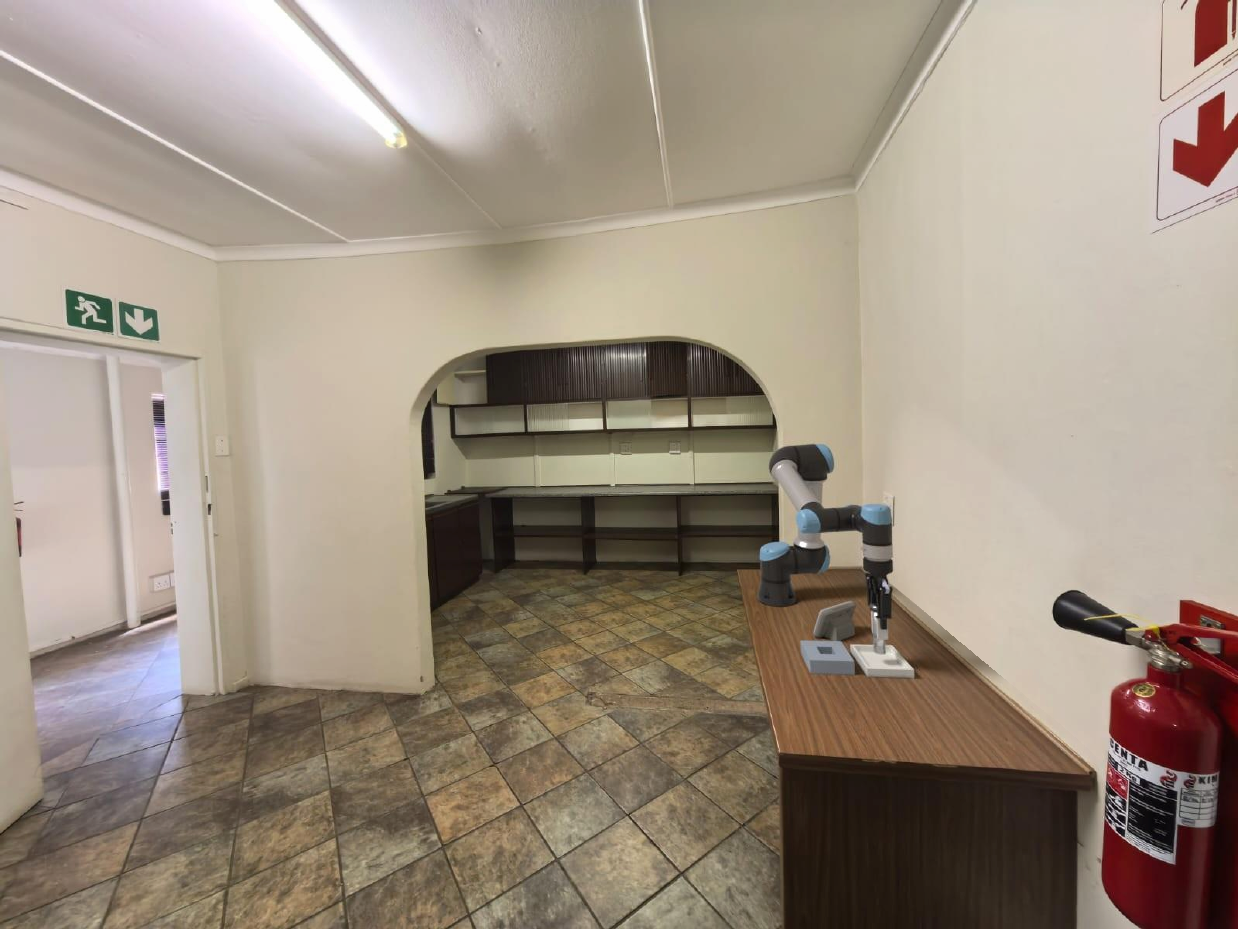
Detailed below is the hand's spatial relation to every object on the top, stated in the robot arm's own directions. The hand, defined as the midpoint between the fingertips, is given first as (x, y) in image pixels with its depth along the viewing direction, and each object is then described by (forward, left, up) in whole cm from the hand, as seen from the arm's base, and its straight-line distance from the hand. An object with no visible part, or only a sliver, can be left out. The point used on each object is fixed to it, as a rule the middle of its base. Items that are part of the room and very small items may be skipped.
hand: (879, 635), depth 129 cm
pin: (0, 0, -5) cm, 5 cm away
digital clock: (-20, -7, -9) cm, 23 cm away
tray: (0, 0, -9) cm, 9 cm away
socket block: (0, -15, -9) cm, 17 cm away
